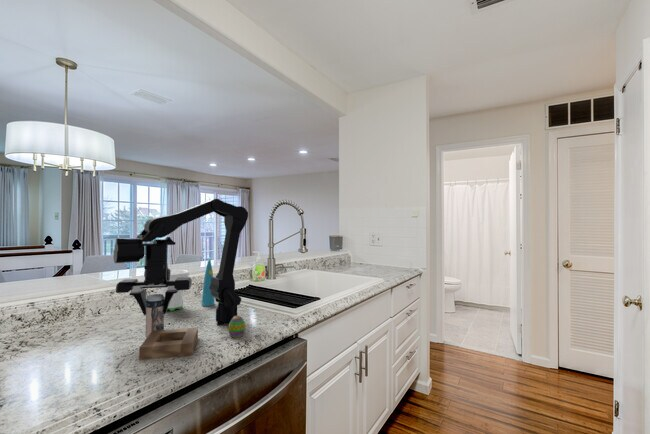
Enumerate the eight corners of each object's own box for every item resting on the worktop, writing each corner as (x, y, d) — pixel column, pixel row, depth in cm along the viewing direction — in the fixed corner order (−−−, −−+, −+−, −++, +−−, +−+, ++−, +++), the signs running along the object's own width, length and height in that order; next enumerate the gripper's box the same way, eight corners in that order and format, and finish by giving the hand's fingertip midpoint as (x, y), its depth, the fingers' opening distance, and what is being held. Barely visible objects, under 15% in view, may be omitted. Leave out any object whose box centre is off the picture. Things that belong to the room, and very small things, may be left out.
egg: (240, 339, 89) (241, 318, 89) (225, 338, 90) (225, 317, 90) (247, 333, 94) (248, 313, 94) (233, 332, 95) (233, 312, 95)
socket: (197, 337, 90) (197, 327, 90) (192, 354, 78) (192, 342, 78) (151, 341, 86) (152, 330, 86) (139, 360, 75) (139, 347, 75)
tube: (215, 306, 123) (216, 258, 123) (202, 307, 121) (203, 258, 121) (213, 302, 130) (214, 256, 130) (201, 303, 127) (202, 256, 128)
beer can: (155, 340, 86) (156, 298, 87) (141, 339, 87) (142, 297, 88) (167, 334, 91) (168, 294, 91) (153, 333, 92) (154, 293, 92)
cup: (193, 307, 120) (194, 271, 121) (166, 314, 111) (167, 275, 111) (177, 303, 126) (178, 269, 127) (149, 309, 117) (150, 272, 117)
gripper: (194, 257, 100) (193, 305, 100) (129, 258, 95) (128, 308, 94) (189, 261, 89) (188, 315, 89) (115, 262, 84) (114, 320, 84)
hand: (155, 314), depth 89 cm, fingers closed on beer can, 5 cm apart
